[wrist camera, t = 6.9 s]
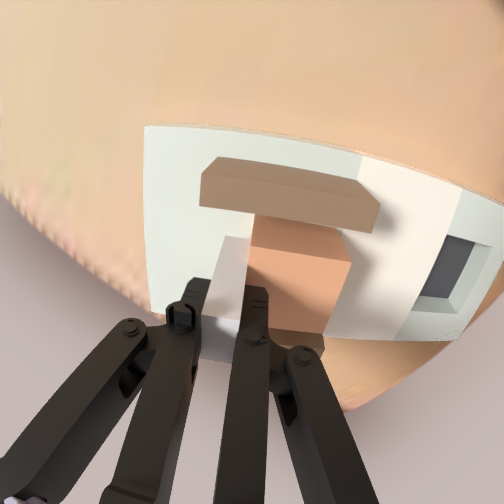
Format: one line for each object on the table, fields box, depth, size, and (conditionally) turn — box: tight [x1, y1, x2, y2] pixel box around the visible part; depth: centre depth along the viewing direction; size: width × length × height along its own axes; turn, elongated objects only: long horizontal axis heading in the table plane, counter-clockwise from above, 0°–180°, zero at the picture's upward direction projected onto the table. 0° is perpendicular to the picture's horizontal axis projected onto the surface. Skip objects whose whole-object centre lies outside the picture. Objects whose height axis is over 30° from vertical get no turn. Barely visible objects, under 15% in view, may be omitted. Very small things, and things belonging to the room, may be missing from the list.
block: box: [245, 214, 352, 334], centre depth 16 cm, size 5×5×4 cm
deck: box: [143, 122, 504, 358], centre depth 17 cm, size 14×29×6 cm, turn 82°
